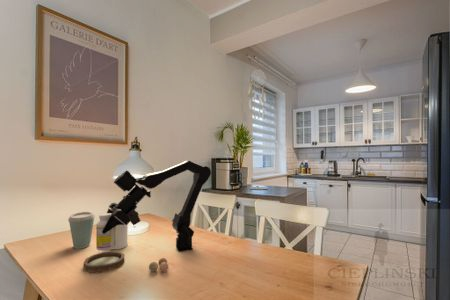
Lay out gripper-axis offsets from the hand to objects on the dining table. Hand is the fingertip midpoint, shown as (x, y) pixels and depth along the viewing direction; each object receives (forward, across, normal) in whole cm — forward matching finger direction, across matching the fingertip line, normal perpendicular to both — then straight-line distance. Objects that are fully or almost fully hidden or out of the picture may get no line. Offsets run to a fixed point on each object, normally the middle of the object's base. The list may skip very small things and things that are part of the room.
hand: (102, 230), depth 91 cm
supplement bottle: (+4, 0, -6) cm, 7 cm away
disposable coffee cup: (+14, +27, -5) cm, 31 cm away
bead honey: (-6, -13, -22) cm, 26 cm away
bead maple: (-3, -15, -19) cm, 25 cm away
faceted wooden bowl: (+9, +1, -10) cm, 13 cm away
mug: (+5, +18, -14) cm, 23 cm away
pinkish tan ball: (-5, -17, -22) cm, 28 cm away
